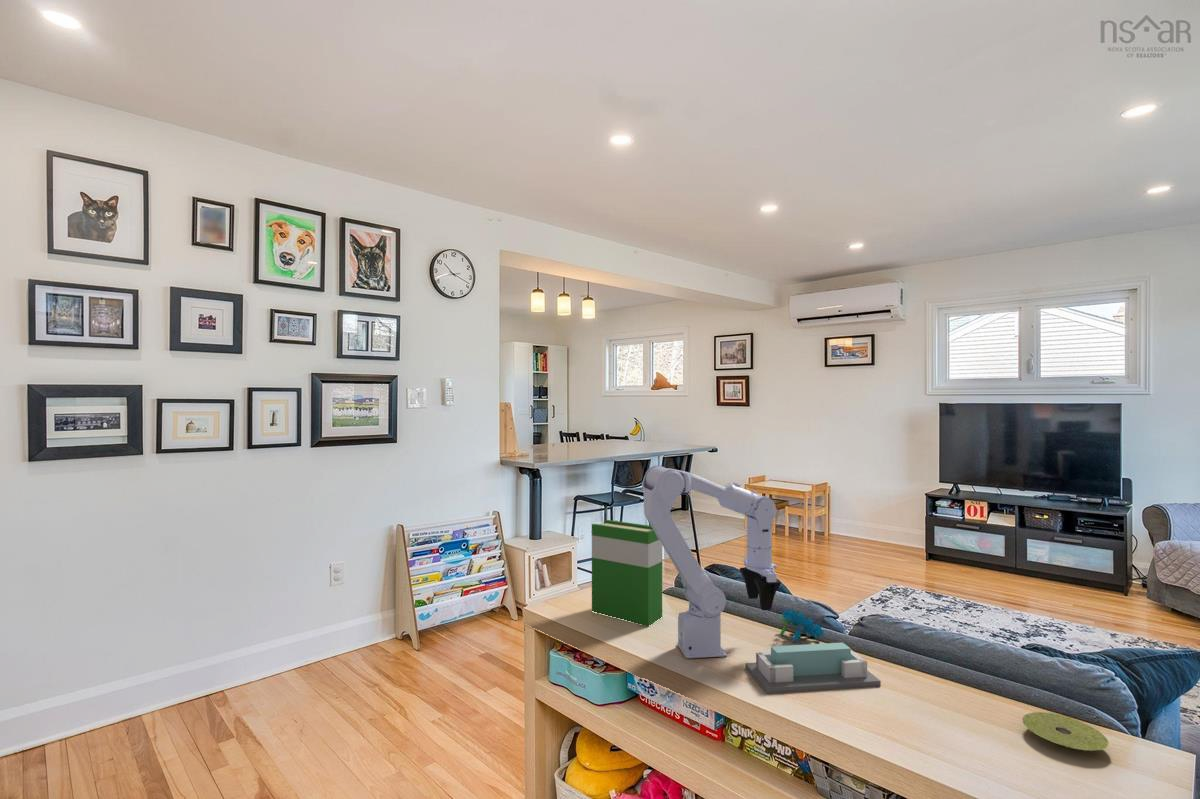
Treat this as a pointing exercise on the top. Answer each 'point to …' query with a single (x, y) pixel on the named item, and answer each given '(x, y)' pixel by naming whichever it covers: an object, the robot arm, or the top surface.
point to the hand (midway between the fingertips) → (759, 603)
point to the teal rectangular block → (812, 658)
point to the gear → (800, 624)
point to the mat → (1065, 731)
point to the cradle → (809, 676)
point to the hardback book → (627, 572)
